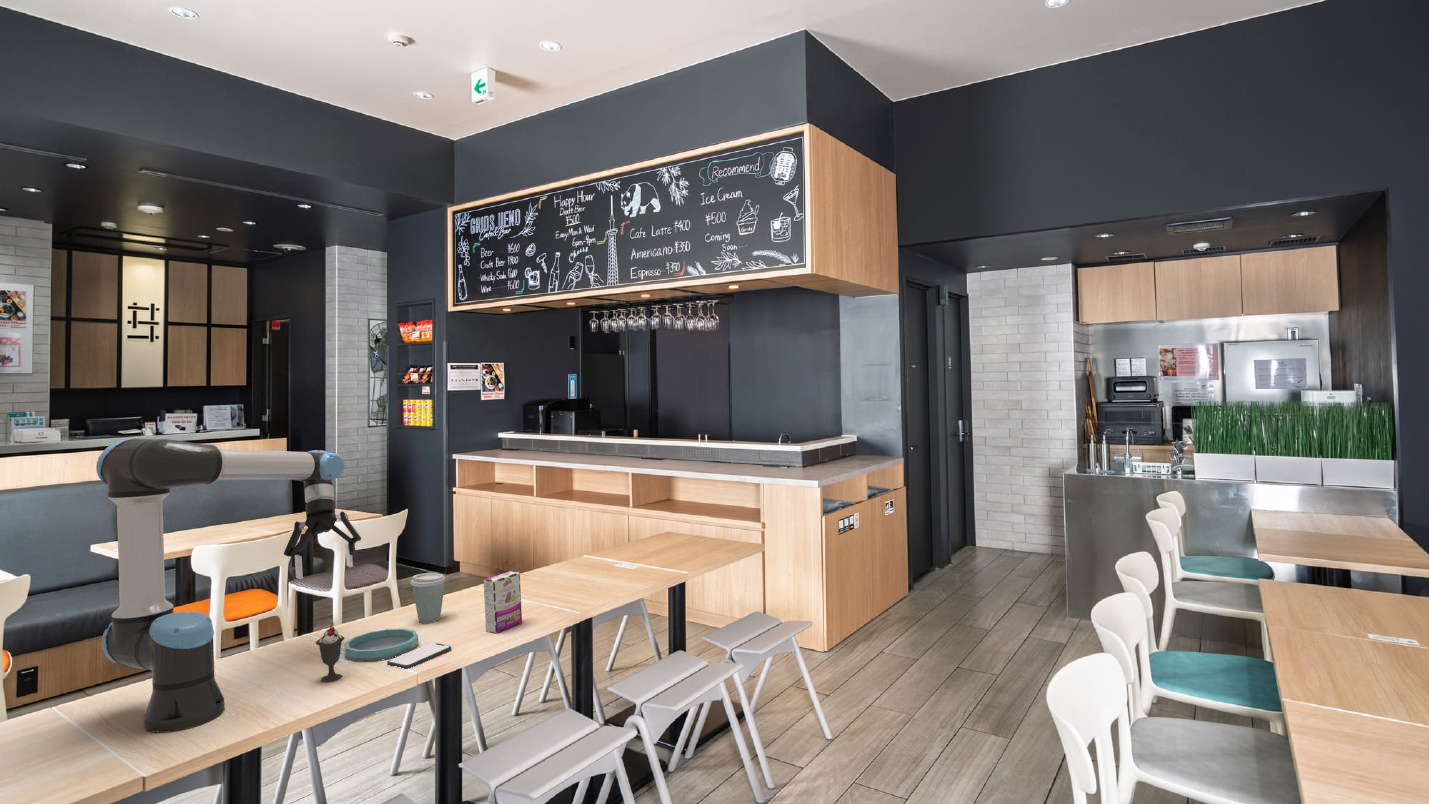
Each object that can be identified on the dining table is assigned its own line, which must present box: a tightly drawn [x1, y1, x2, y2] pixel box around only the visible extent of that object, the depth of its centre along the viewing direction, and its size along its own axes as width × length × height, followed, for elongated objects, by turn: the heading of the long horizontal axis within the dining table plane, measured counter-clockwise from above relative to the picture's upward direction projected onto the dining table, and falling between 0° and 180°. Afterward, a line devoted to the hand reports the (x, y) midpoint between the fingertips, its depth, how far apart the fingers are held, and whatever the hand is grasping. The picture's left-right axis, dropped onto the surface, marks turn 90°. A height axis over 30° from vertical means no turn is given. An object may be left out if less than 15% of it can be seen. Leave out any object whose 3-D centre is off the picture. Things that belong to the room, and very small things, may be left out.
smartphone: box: [386, 642, 452, 670], centre depth 205 cm, size 9×2×16 cm
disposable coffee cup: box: [410, 572, 446, 624], centre depth 238 cm, size 11×11×15 cm
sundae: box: [315, 622, 346, 683], centre depth 191 cm, size 7×7×15 cm
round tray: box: [344, 628, 419, 662], centre depth 212 cm, size 19×19×3 cm
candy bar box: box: [483, 570, 523, 634], centre depth 229 cm, size 11×5×16 cm, turn 150°
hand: (324, 572), depth 208 cm, fingers open, 13 cm apart
